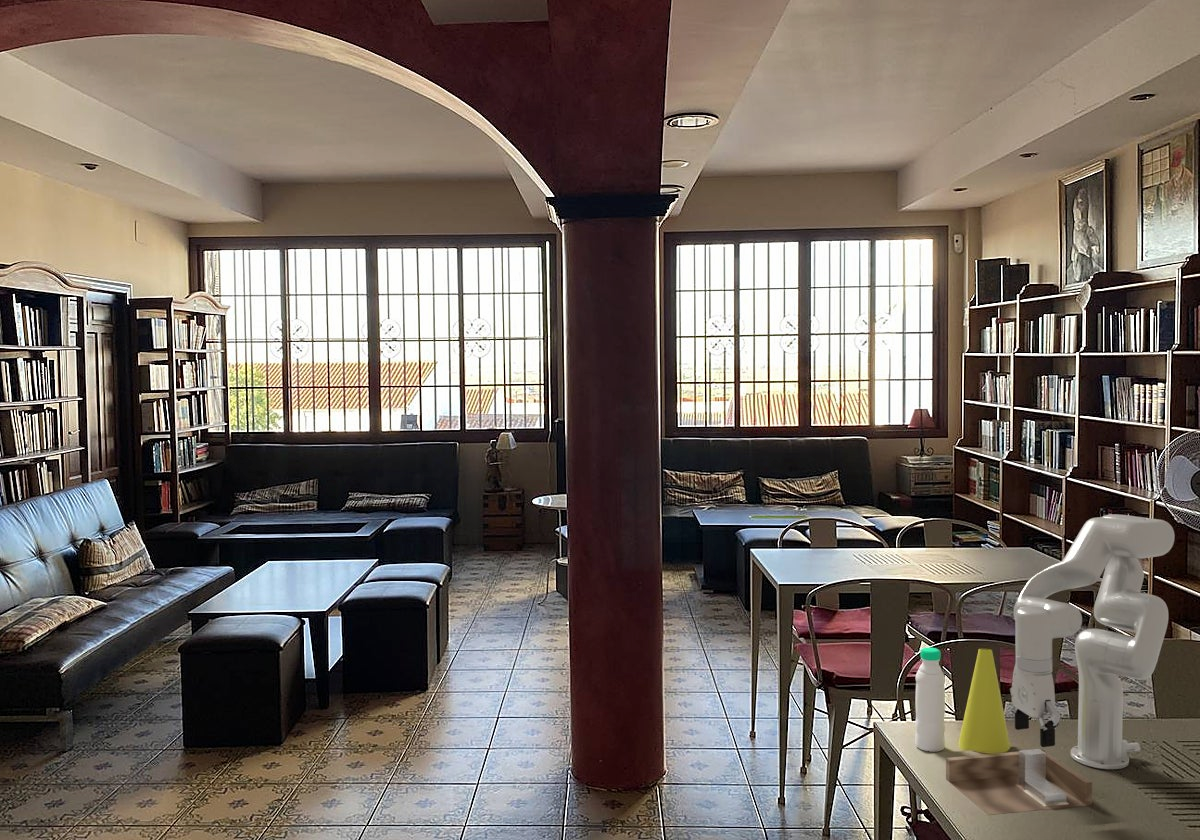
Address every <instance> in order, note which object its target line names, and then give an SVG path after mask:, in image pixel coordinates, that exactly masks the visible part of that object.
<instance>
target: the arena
mask: <svg viewBox="0 0 1200 840" xmlns="http://www.w3.org/2000/svg"><path fill="white" fill-rule="evenodd" d="M1041 750H1042V751H1043V752H1045V753H1046V776H1045V779H1046V780H1047V781H1049V782H1050V783H1052V784H1053V785H1054V786H1056V787H1057V788H1059V789H1060V790H1062V791H1063V792H1064V793H1066V794H1067V796H1066V803H1061V804H1051V805H1045V804H1043V803H1042V802H1040V801H1039V800H1038V799H1036V798H1035V797H1034V796H1032V795H1031V794H1030V793H1028V792H1027V791H1026V790H1024V789H1023V788H1022V787H1020V786H1019V785H1018V775H1019V751H1011V752H1010V751H1009V752H1008V751H1006V752H1003V753H995V754H991V753H984V754H975V755H964V756H962V755H961V756H952V757H945V780H946V781H947V782H949V783H950V784H951V785H953V787H954V788H955V789H957V790H958V791H959V792H960V793H962V794H963V795H964V796H965V797H967V799H969V800H970V801H971V802H973V803H974V804H975V805H976V806H977V807H978V808H980V810H982V811H983V812H984V813H986V814H987V815H988V816H991V815H992V816H994V815H1003V814H1004V815H1005V814H1015V813H1021V812H1023V813H1024V812H1033V811H1044V810H1045V811H1046V810H1054V809H1056V810H1057V809H1065V808H1066V809H1067V808H1073V807H1083V806H1085V807H1086V806H1092V803H1093V802H1092V800H1093V797H1092V795H1093V781H1092V780H1089V779H1088V778H1087V777H1085V776H1084V775H1082V774H1080V773H1078V771H1076V770H1075V769H1073V768H1071V767H1069V766H1068V765H1066V764H1065V763H1064V762H1062V761H1060V760H1059V759H1057V758H1056V757H1054V756H1053V755H1051V754H1049V752H1047V751H1045V750H1044V749H1041Z"/></svg>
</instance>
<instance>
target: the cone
mask: <svg viewBox="0 0 1200 840" xmlns="http://www.w3.org/2000/svg"><path fill="white" fill-rule="evenodd" d="M970 683H971V684H970V688H969V692H968V698H967V702H966V707H965V711H964V716H963V720H962V723H961V724H962V725H961V730H960V734H959V739H958V743H957V745H958V744H959V746H958V748H959V747H960V748H961V749H962V750H964V751H963V752H969V751H973V752H976V753H981V754H996V753H1007V752H1008V751H1010V749H1011V744H1010V738H1009V732H1008V727H1007V722H1006V717H1005V712H1004V706H1003V701H1002V696H1001V695H1002V694H1001V690H1000V686H999V680H998V676H997V669H996V664H995V658H994V654H993V649H990V648H978V652H977V656H976V661H975V666H974V670H973V674H972V678H971V682H970ZM960 748H959V749H960ZM961 749H960V750H961ZM962 750H961V751H962Z"/></svg>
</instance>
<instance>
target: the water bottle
mask: <svg viewBox="0 0 1200 840" xmlns="http://www.w3.org/2000/svg"><path fill="white" fill-rule="evenodd" d="M919 655H920V659H921V661H922V663H921V664H920V666H919V667H918V669H917V671H916V674H915V720H914V721H915V723H914V724H915V727H914V728H915V736H914V744H915V746H916V747H917V748H918V749H919V750H921V751H925V752H928V751H929V752H930V753H937V752H938V753H939V752H940V751H943V750H944V749H945V746H946V738H945V730H946V724H945V723H946V722H945V714H946V688H945V685H946V676H945V674H944V672H943V671H942V667H941V666H940V664H939V663H940V660H941V655H942V654H941V651H940V649H938V648H936V647H930V646H929V647H923V648H921V649H920V653H919ZM929 752H928V753H929Z"/></svg>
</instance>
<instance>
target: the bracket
mask: <svg viewBox="0 0 1200 840" xmlns="http://www.w3.org/2000/svg"><path fill="white" fill-rule="evenodd" d="M1042 750H1043V749H1040V748H1034V749H1022V750H1018V752H1019V775H1018V785H1019V786H1020V787H1022V788H1023V789H1024V790H1026V791H1027V792H1028V793H1030V794H1031V795H1032V796H1034V797H1035V798H1036V799H1038V800H1039V801H1040V802H1042V803H1043V804H1045V805H1051V804H1061V803H1066V796H1067V794H1066V793H1064V792H1063V791H1062V790H1060V789H1059V788H1057V787H1056V786H1054V785H1053V784H1052V783H1050V782H1049V781H1047V780H1046V779H1045V776H1046V753H1045V752H1046V751H1045V752H1043V751H1042Z"/></svg>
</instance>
